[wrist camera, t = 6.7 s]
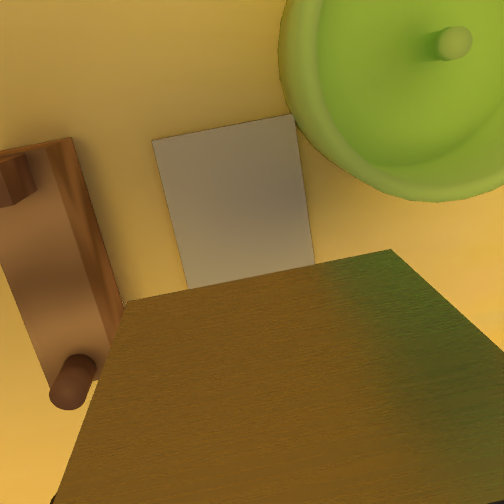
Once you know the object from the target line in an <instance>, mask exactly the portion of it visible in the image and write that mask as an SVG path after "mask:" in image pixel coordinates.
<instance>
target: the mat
mask: <svg viewBox="0 0 504 504" xmlns="http://www.w3.org/2000/svg"><path fill="white" fill-rule="evenodd" d="M152 145H153V149H154V153H155V157H156V161H157V165H158V169H159V173H160V177H161V181H162V185H163V189H164V193H165V197H166V201H167V205H168V209H169V213H170V217H171V221H172V225H173V229H174V233H175V237H176V241H177V245H178V249H179V253H180V257H181V261H182V265H183V269H184V273H185V277H186V281H187V285H188V289H193V288H198V287H203V286H208V285H213V284H218V283H223V282H228V281H233V280H238V279H243V278H248V277H253V276H258V275H263V274H268V273H273V272H278V271H283V270H288V269H293V268H298V267H304V266H309V265H314V264H315V260H314V253H313V246H312V239H311V232H310V225H309V218H308V211H307V204H306V196H305V189H304V182H303V175H302V168H301V161H300V154H299V147H298V140H297V133H296V126H295V119H294V116H293V114H286V115H281V116H276V117H271V118H265V119H260V120H255V121H250V122H245V123H240V124H234V125H229V126H224V127H219V128H214V129H208V130H203V131H198V132H193V133H188V134H183V135H177V136H172V137H167V138H162V139H157V140H152Z"/></svg>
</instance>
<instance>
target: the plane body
mask: <svg viewBox="0 0 504 504" xmlns="http://www.w3.org/2000/svg"><path fill="white" fill-rule="evenodd" d="M0 263H1V266H2V268H3V271H4V274H5V276H6V279H7V281H8V284H9V286H10V289H11V291H12V294H13V296H14V299H15V301H16V304H17V306H18V309H19V311H20V314H21V316H22V319H23V321H24V324H25V326H26V329H27V332H28V334H29V337H30V339H31V342H32V344H33V347H34V349H35V352H36V354H37V357H38V359H39V362H40V364H41V367H42V369H43V372H44V374H45V377H46V379H47V382H48V384H49V387H50V392H49V397H50V400H51V402H52V403H53V404H54V405H55V406H56V407H58V408H60V409H63V410H74V409H77V408H79V407H80V406H81V405H82V404H83V403H84V401H85V399H86V396H87V394H88V391H89V389H90V386H91V383H92V381H95V380H99V378H100V375H101V373H102V370H103V367H104V364H105V362H106V359H107V356H108V354H109V351H110V348H111V346H112V343H113V340H114V337H115V335H116V332H117V329H118V327H119V324H120V321H121V319H122V316H123V313H124V308H123V305H122V301H121V298H120V295H119V292H118V288H117V285H116V282H115V279H114V275H113V272H112V269H111V266H110V262H109V259H108V256H107V253H106V249H105V246H104V243H103V240H102V236H101V233H100V230H99V227H98V223H97V220H96V217H95V214H94V210H93V207H92V204H91V201H90V197H89V194H88V191H87V188H86V184H85V181H84V178H83V175H82V171H81V168H80V165H79V162H78V158H77V155H76V152H75V149H74V145H73V142H72V139H71V137H70V138H65V139H60V140H55V141H49V142H44V143H39V144H34V145H29V146H23V147H18V148H13V149H8V150H2V151H0Z"/></svg>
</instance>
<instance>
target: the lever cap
mask: <svg viewBox="0 0 504 504" xmlns="http://www.w3.org/2000/svg"><path fill="white" fill-rule="evenodd" d="M53 504H504V352H503V351H502V350H501V349H500V348H499V347H498V346H497V345H495V344H494V343H493V342H492V341H491V340H490V339H489V338H488V337H487V336H486V335H484V334H483V333H482V332H481V331H480V330H479V329H478V328H477V327H476V326H475V325H474V324H472V323H471V322H470V321H469V320H468V319H467V318H466V317H465V316H464V315H463V314H461V313H460V312H459V311H458V310H457V309H456V308H455V307H454V306H453V305H452V304H450V303H449V302H448V301H447V300H446V299H445V298H444V297H443V296H442V295H441V294H440V293H438V292H437V291H436V290H435V289H434V288H433V287H432V286H431V285H430V284H429V283H427V282H426V281H425V280H424V279H423V278H422V277H421V276H420V275H419V274H418V273H416V272H415V271H414V270H413V269H412V268H411V267H410V266H409V265H408V264H407V263H406V262H404V261H403V260H402V259H401V258H400V257H399V256H398V255H397V254H396V253H395V252H393V251H392V250H391V249H389V250H384V251H379V252H374V253H369V254H364V255H359V256H354V257H349V258H344V259H339V260H334V261H329V262H324V263H319V264H314V265H309V266H304V267H298V268H293V269H288V270H283V271H278V272H273V273H268V274H263V275H258V276H253V277H248V278H243V279H238V280H233V281H228V282H223V283H218V284H213V285H208V286H203V287H198V288H193V289H188V290H183V291H178V292H173V293H168V294H163V295H158V296H153V297H148V298H143V299H138V300H133V301H128V302H127V305H126V308H125V310H124V313H123V316H122V319H121V321H120V324H119V327H118V329H117V332H116V335H115V337H114V340H113V343H112V346H111V348H110V351H109V354H108V356H107V359H106V362H105V364H104V367H103V370H102V373H101V375H100V378H99V381H98V383H97V386H96V389H95V392H94V394H93V397H92V400H91V402H90V405H89V408H88V410H87V413H86V416H85V419H84V421H83V424H82V427H81V429H80V432H79V435H78V437H77V440H76V443H75V446H74V448H73V451H72V454H71V456H70V459H69V462H68V464H67V467H66V470H65V473H64V475H63V478H62V481H61V483H60V486H59V489H58V491H57V494H56V497H55V500H54V502H53Z"/></svg>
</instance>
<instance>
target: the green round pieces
mask: <svg viewBox="0 0 504 504" xmlns="http://www.w3.org/2000/svg"><path fill="white" fill-rule="evenodd" d="M278 63H279V76H280V81H281V85H282V89H283V93H284V96H285V100H286V104H287V106H288V108H289V110H290V112H291V114H293V116H294V119H295V122H296V124H297V126H298V128H299V129H300V130H301V132H302V133H303V134H304V136H305V137H306V138H307V140H308V141H309V142H310V144H311V145H312V146H313V147H314V148H315V149H317V150H318V151H319V152H320V153H321V154H322V155H324V156H325V157H326V158H327V159H328V160H329V161H331V162H332V163H334V164H336V165H337V166H339V167H340V168H342V169H343V170H345V171H347V172H348V173H350V174H351V175H353V176H354V177H356V178H358V179H359V180H361V181H363V182H365V183H366V184H368V185H370V186H372V187H374V188H376V189H377V190H379V191H381V192H383V193H386V194H389V195H393V196H396V197H399V198H403V199H406V200H410V201H423V202H436V203H438V202H446V201H454V200H463V199H467V198H470V197H474V196H477V195H480V194H483V193H486V192H489V191H492V190H494V189H496V188H498V187H500V186H502V185H504V0H287V2H286V5H285V9H284V12H283V16H282V19H281V23H280V33H279V42H278Z"/></svg>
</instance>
